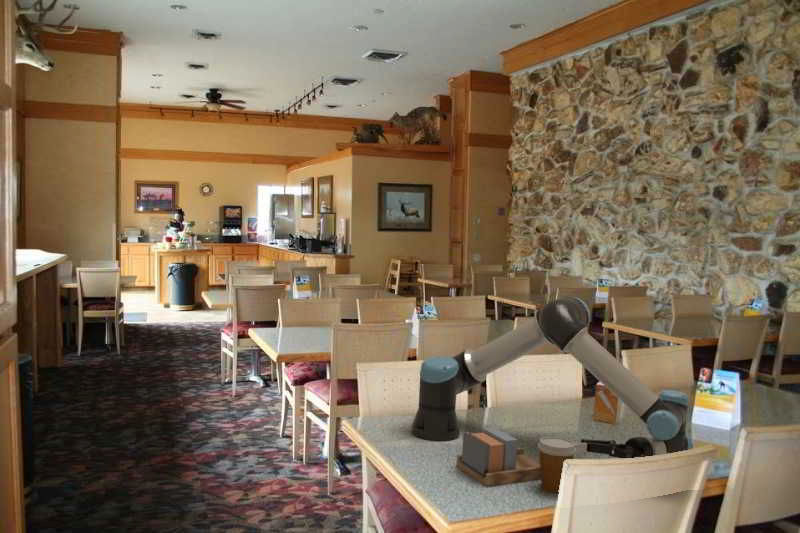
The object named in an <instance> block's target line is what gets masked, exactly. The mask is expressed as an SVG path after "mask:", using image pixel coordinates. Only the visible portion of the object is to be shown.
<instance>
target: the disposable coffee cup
mask: <svg viewBox="0 0 800 533" xmlns="http://www.w3.org/2000/svg"><path fill="white" fill-rule="evenodd" d="M574 444H575V443H574V442H573V441H572V440H570V439H567V438H564V437H558V436H544V437H541V438H540V439H539V442H538V443H537V448H538V450H539V451H538V452H539V463H540V470H541V479H540V483H541V485H540V486H541V488H542V489H543V490H544V491H546V492H550V493H554V494H555V493H556V494H559V493H558V490H559V485H560V479H561V473H562V468H563V462H564V460H566V459H574V456H575V455H574V453H575V451H576V448H575V445H574Z"/></svg>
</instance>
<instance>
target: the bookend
mask: <svg viewBox="0 0 800 533" xmlns="http://www.w3.org/2000/svg"><path fill="white" fill-rule="evenodd" d="M462 433H463V435H462V436H463V437H462V448H461V450H462V452H461V454H462V462H460V463H461V464H462V465H464V466H465V467H467V468H468V469H470V470H471V471H473V472H474V473H476V474H477V475H479V476H480V477H482V478H485V477H486V473H488V466H489V451H490V445H489V444H488V443H486V442H484V441H482V440H481V439H479V438H477V437H475V436H474V435H472V434H473V433H470V432H469V431H463V432H462Z"/></svg>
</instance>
